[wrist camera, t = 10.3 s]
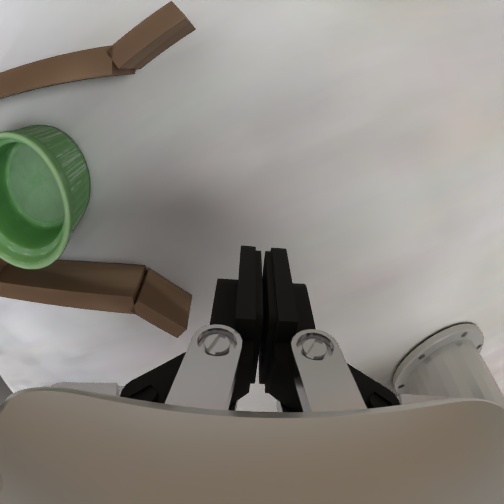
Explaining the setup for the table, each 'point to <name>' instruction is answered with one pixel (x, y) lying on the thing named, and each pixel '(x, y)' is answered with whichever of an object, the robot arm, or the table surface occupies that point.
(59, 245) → the ramekin
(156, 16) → the walnut holder
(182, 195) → the table surface
